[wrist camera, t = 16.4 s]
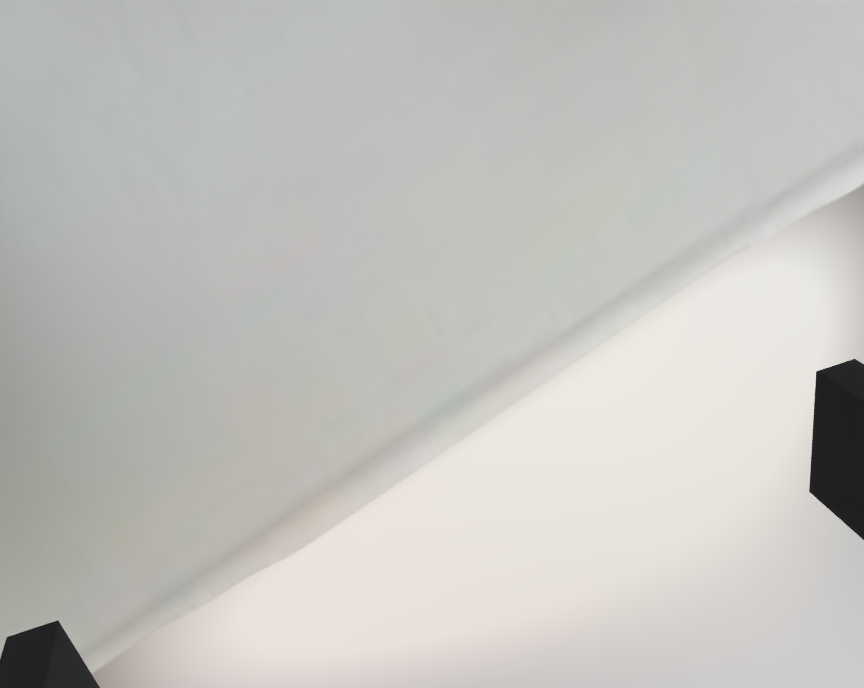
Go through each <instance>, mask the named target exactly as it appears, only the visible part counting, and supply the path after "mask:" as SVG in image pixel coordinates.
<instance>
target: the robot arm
mask: <svg viewBox="0 0 864 688" xmlns="http://www.w3.org/2000/svg"><path fill="white" fill-rule="evenodd" d="M815 389H816V390H815V405H814V423H813V440H812V457H811V474H810V493H812V494H813V495H814V496H815V497H816V498H817V499H818V500H819V501H821V502H822V503H823V504H824V505H825V506H826V507H827V508H829V509H830V510H831V511H832V512H833V513H834V514H835V515H836V516H837V517H839V518H840V519H841V520H842V521H843V522H844V523H845V524H846V525H848V526H849V527H850V528H851V529H852V530H853V531H854V532H855V533H857V534H858V535H859V536H860V537H861V538H862V539H863V540H864V364H862V363H860V362H859V361H857V360H856V359H853V360H851V361H847V362H844V363H841V364H838V365H835V366H832V367H829V368H826V369H823V370H820V371H817V372H816V388H815ZM0 688H100V687H99V686H98V684H97V682H96V681H95V679H94V678H93V676H92V674H91V673H90V671H89V670H88V668H87V666H86V665H85V663H84V661H83V660H82V658H81V657H80V655H79V653H78V652H77V650H76V649H75V647H74V645H73V644H72V642H71V640H70V639H69V637H68V636H67V634H66V632H65V631H64V629H63V628H62V626H61V624H60V623H59V621H55V622H52V623H49V624H46V625H43V626H40V627H37V628H34V629H31V630H27V631H24V632H21V633H18V634H15V635H12V636H9V637H7V639H6V642H5V646H4V649H3V652H2V656H1V659H0Z"/></svg>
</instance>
